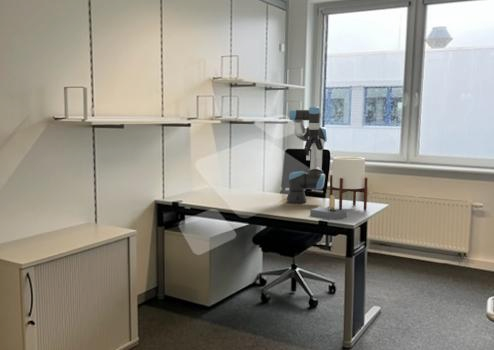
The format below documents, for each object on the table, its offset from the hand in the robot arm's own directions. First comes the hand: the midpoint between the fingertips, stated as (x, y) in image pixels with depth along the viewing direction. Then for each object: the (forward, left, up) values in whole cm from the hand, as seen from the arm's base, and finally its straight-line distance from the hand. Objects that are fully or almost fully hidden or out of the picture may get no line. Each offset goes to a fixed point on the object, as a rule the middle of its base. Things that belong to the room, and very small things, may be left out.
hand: (313, 159), depth 342 cm
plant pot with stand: (+18, +18, -35) cm, 43 cm away
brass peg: (+26, -17, -35) cm, 47 cm away
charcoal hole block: (+23, -17, -35) cm, 45 cm away
